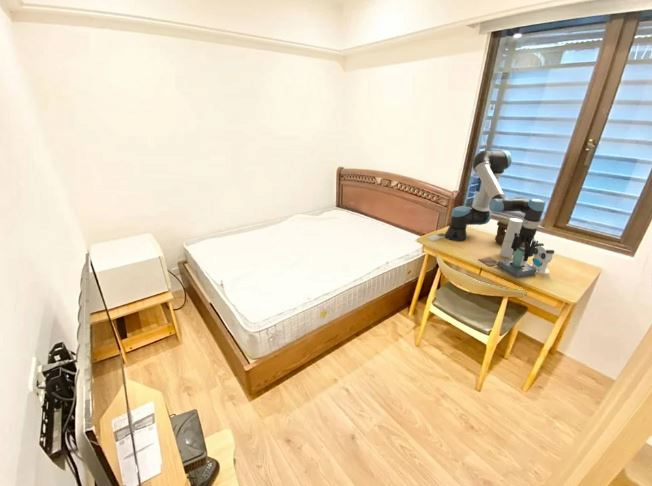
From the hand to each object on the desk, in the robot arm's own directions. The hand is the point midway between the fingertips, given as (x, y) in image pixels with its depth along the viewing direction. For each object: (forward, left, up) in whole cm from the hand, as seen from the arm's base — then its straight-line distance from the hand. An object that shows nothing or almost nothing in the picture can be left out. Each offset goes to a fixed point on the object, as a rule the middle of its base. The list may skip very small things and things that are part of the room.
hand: (517, 262), depth 174 cm
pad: (-13, -7, -5) cm, 16 cm away
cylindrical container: (-18, +11, -5) cm, 22 cm away
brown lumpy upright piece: (-29, +25, -6) cm, 39 cm away
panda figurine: (+2, +15, -5) cm, 16 cm away
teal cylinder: (0, 0, -5) cm, 5 cm away
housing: (0, 0, -5) cm, 5 cm away
